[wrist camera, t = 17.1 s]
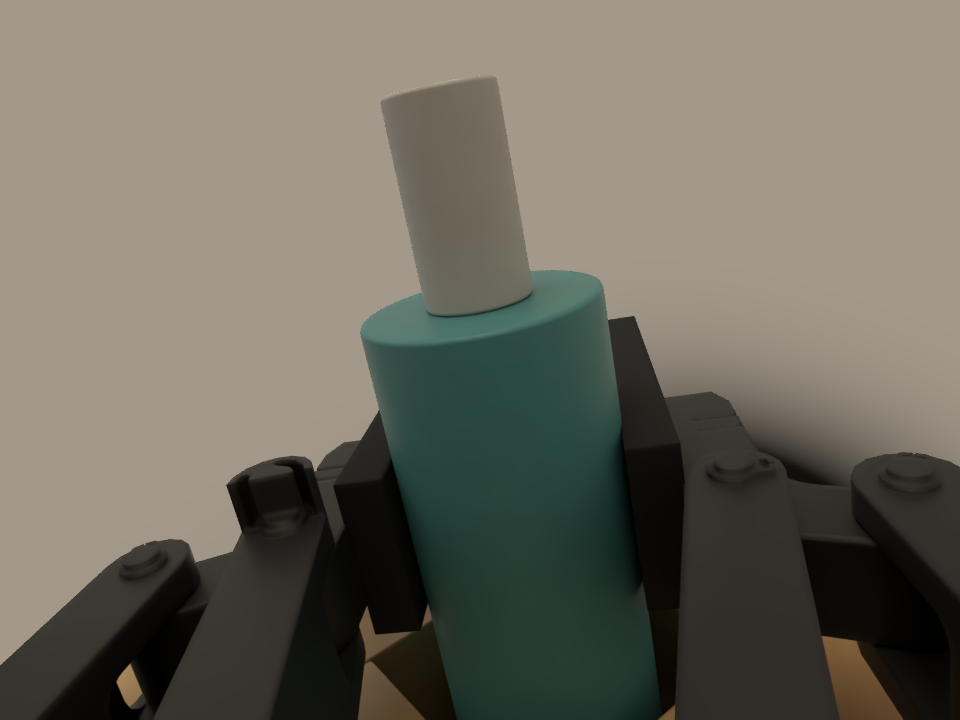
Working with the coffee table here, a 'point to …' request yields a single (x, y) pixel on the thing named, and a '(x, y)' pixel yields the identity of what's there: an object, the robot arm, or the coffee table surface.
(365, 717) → the holder
